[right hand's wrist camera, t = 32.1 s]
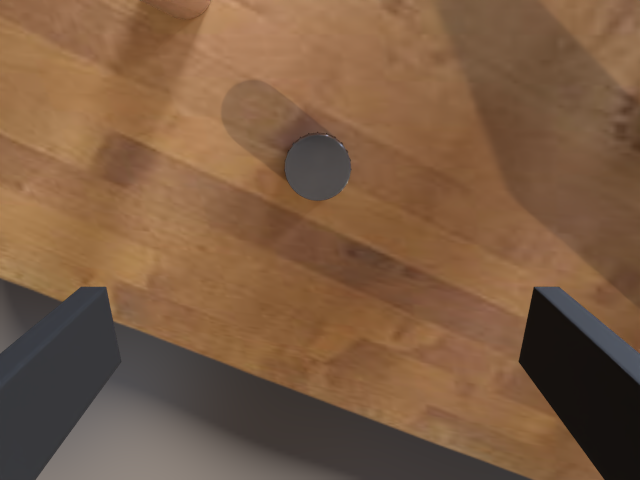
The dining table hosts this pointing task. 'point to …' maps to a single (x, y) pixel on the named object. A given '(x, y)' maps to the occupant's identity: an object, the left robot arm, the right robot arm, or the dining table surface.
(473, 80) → the dining table surface
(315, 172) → the lid
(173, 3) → the brown cylinder
